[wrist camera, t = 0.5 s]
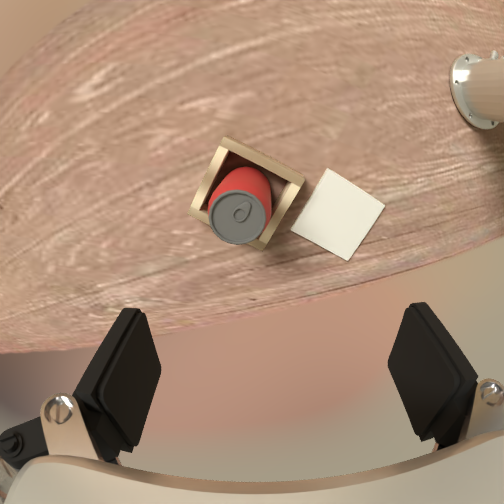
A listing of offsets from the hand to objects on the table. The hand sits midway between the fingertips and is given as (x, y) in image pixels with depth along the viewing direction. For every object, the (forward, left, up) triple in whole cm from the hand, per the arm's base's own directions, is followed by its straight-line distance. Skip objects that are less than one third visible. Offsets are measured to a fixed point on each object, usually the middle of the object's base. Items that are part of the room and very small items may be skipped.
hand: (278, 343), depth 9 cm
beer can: (+3, -2, -31) cm, 31 cm away
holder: (+3, -2, -31) cm, 31 cm away
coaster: (0, +11, -31) cm, 32 cm away
